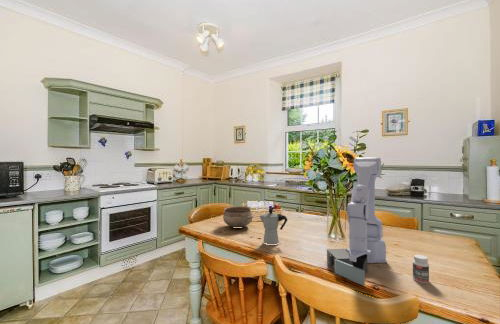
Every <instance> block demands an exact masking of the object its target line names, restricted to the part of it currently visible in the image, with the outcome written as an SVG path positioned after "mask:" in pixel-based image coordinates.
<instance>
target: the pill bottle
mask: <svg viewBox="0 0 500 324" xmlns="http://www.w3.org/2000/svg"><path fill="white" fill-rule="evenodd" d="M428 262H429V257H427V256H426V255H423V254H414V255H413V260H412V279H413V280H414V281H415V282H417V283H420V284H428V283H430V265H429V263H428Z"/></svg>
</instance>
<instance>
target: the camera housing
mask: <svg viewBox="0 0 500 324" xmlns="http://www.w3.org/2000/svg"><path fill="white" fill-rule="evenodd" d="M335 259H337V260H339V261H342V262H345V263H347V264H350V265H352V266H353V263H352V261H350V257H349V248H329V249H328V248H327V249H326V262H327V264H328V265H329V267H331V266H332V267H331V268H332V270H334V271H335ZM368 269H369V268H368V263H367V258H366V260H365V263H364V266H363V270H365V273H366V272H368Z"/></svg>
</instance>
